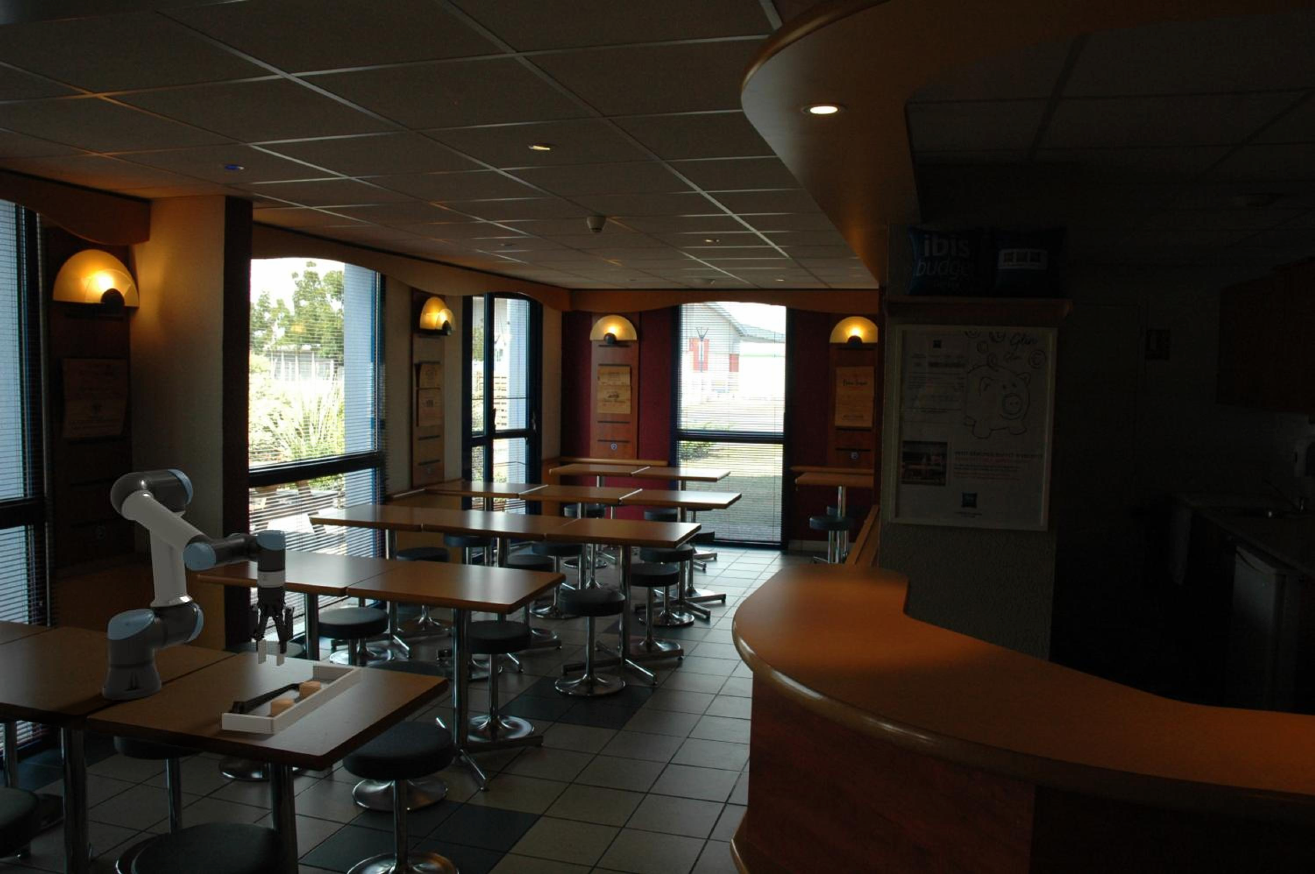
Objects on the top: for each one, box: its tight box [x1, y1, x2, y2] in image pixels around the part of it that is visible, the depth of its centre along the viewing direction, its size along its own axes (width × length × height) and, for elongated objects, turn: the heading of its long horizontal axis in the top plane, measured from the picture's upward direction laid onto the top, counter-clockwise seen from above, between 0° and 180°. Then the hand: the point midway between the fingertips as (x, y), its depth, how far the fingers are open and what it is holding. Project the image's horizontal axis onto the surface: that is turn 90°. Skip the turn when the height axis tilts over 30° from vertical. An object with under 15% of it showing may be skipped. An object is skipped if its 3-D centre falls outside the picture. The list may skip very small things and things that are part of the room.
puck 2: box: [298, 680, 322, 700], centre depth 266 cm, size 6×6×4 cm
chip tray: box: [221, 663, 362, 735], centre depth 260 cm, size 16×44×4 cm, turn 169°
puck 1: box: [270, 697, 295, 718], centre depth 252 cm, size 6×6×4 cm
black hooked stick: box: [226, 682, 304, 715], centre depth 259 cm, size 5×5×30 cm
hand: (271, 663), depth 261 cm, fingers open, 5 cm apart
